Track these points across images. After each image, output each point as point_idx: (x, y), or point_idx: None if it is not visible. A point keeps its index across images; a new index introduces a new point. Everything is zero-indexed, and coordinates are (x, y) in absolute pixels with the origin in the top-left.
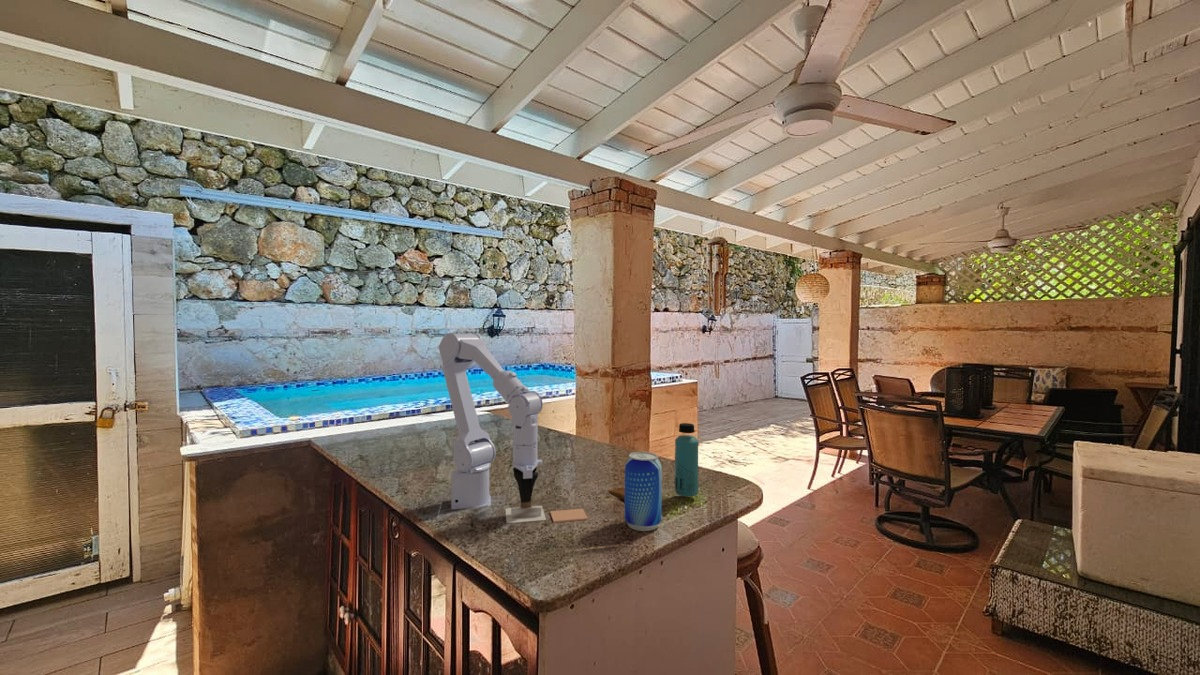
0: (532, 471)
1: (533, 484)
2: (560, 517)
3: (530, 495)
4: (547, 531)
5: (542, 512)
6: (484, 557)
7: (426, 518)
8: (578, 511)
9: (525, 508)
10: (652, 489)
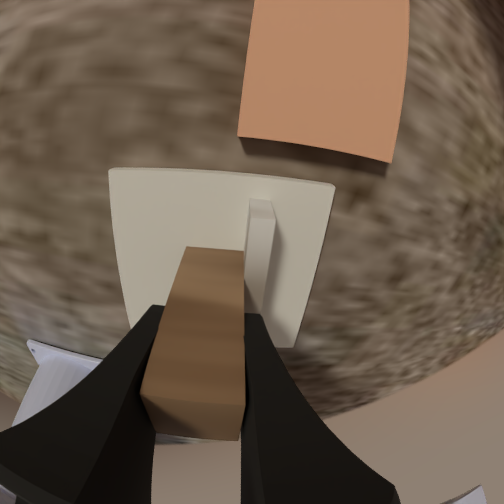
0: (101, 493)
1: (328, 429)
2: (360, 106)
3: (272, 349)
4: (425, 208)
5: (218, 182)
6: (435, 369)
7: (178, 442)
8: None
9: (257, 309)
10: None
